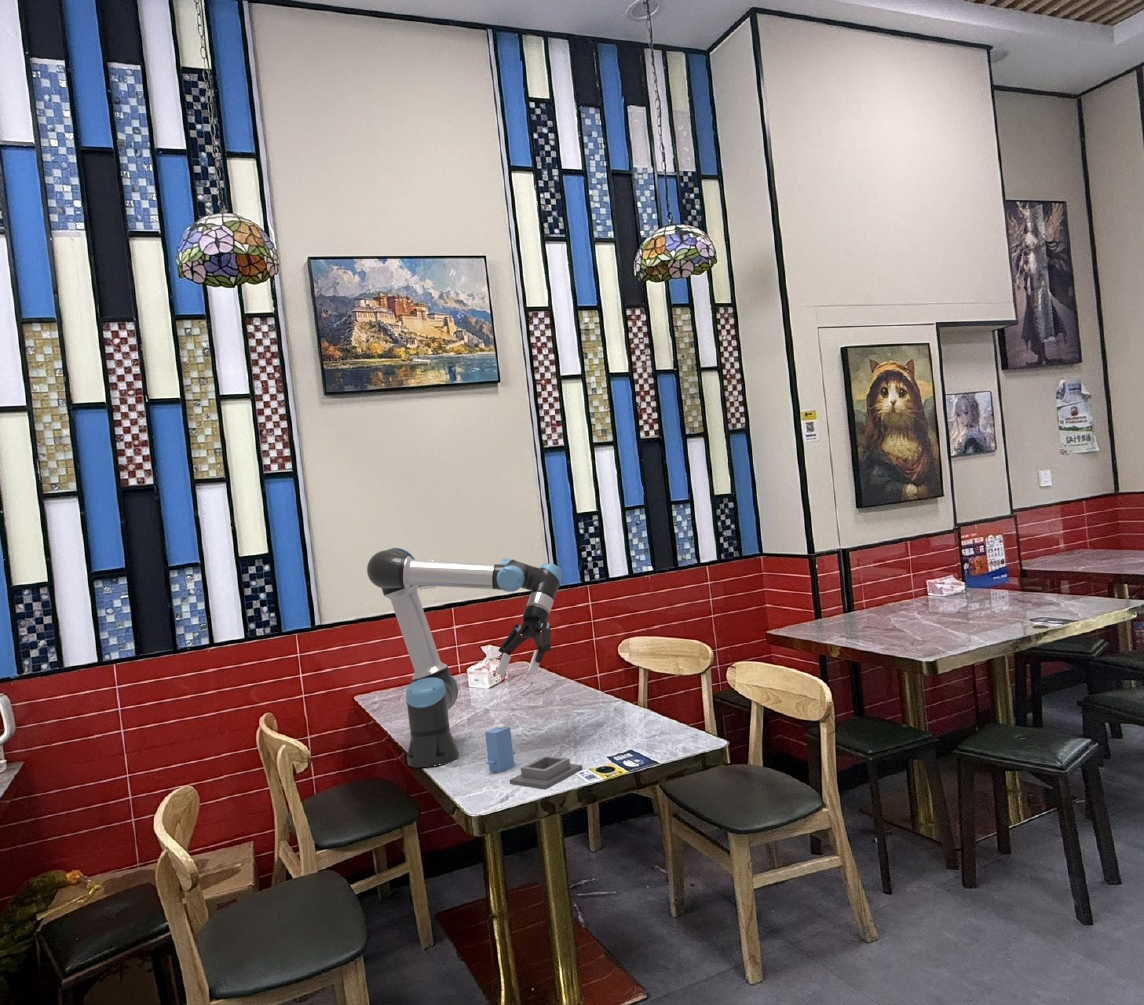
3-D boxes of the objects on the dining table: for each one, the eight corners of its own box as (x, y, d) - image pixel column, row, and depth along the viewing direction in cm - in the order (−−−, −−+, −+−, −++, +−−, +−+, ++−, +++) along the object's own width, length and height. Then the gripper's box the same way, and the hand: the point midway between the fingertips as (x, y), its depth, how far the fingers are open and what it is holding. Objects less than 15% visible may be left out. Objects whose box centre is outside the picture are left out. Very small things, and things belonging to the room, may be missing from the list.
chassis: (545, 789, 211) (543, 775, 211) (510, 783, 219) (508, 770, 219) (582, 768, 224) (580, 755, 224) (548, 764, 231) (546, 751, 231)
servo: (495, 774, 227) (490, 732, 227) (485, 773, 230) (480, 730, 230) (518, 763, 235) (513, 722, 235) (508, 762, 237) (503, 721, 237)
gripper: (575, 613, 248) (554, 677, 237) (517, 619, 265) (495, 680, 253) (559, 600, 244) (537, 665, 233) (502, 608, 261) (479, 669, 249)
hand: (515, 673), depth 243 cm, fingers open, 13 cm apart
